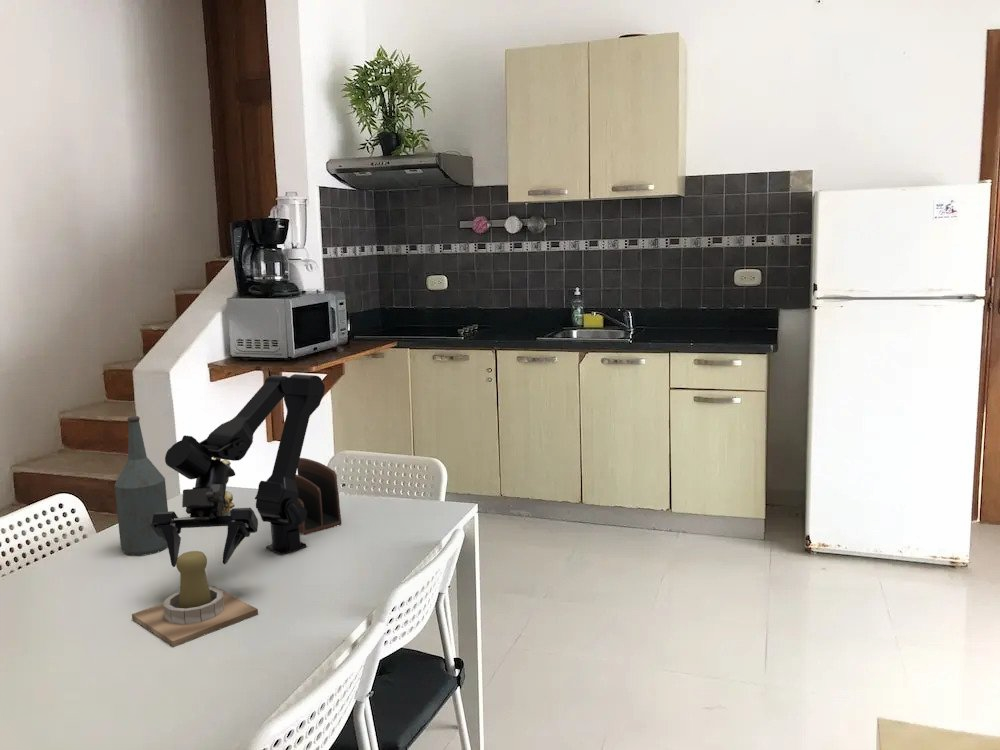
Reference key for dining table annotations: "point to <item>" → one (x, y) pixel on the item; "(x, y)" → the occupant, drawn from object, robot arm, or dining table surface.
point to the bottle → (139, 497)
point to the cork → (193, 580)
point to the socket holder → (193, 617)
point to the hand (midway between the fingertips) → (198, 564)
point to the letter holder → (317, 496)
